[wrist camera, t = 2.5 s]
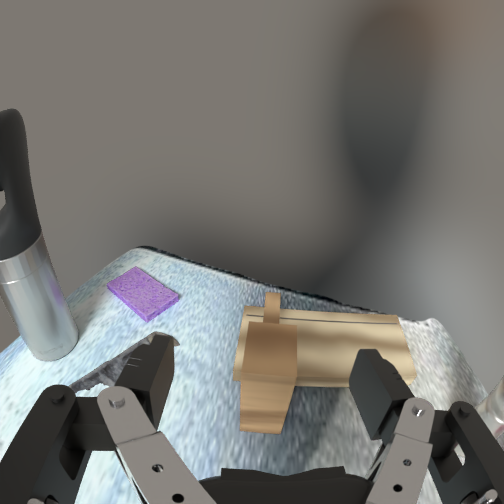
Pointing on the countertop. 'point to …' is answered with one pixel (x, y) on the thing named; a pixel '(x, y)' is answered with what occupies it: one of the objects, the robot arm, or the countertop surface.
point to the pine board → (334, 344)
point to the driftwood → (111, 368)
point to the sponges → (142, 293)
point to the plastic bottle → (491, 413)
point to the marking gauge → (268, 371)
